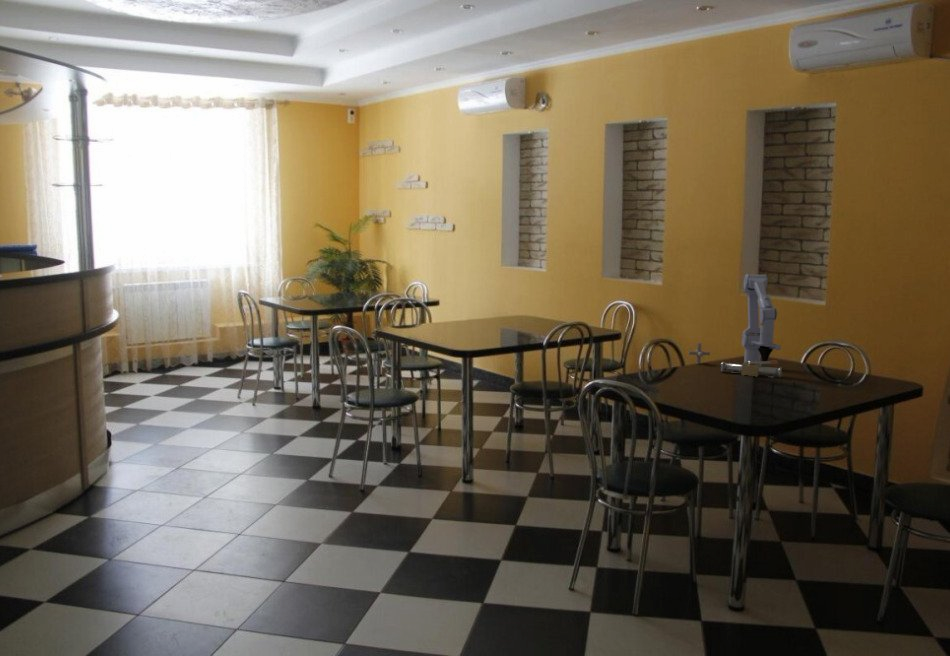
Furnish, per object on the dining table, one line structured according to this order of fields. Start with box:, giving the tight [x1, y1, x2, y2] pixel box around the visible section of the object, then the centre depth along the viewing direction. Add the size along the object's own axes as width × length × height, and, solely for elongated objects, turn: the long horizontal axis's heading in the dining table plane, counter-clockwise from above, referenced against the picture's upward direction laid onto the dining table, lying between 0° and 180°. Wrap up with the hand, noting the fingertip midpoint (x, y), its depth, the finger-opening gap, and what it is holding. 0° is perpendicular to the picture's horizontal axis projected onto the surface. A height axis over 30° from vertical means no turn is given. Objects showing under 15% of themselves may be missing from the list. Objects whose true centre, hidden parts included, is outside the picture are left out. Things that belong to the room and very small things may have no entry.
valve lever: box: [748, 359, 779, 365], centre depth 388 cm, size 14×3×1 cm, turn 98°
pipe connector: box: [687, 342, 711, 364], centre depth 413 cm, size 10×10×10 cm
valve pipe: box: [720, 361, 783, 379], centre depth 388 cm, size 6×26×5 cm, turn 63°
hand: (764, 363), depth 390 cm, fingers closed
